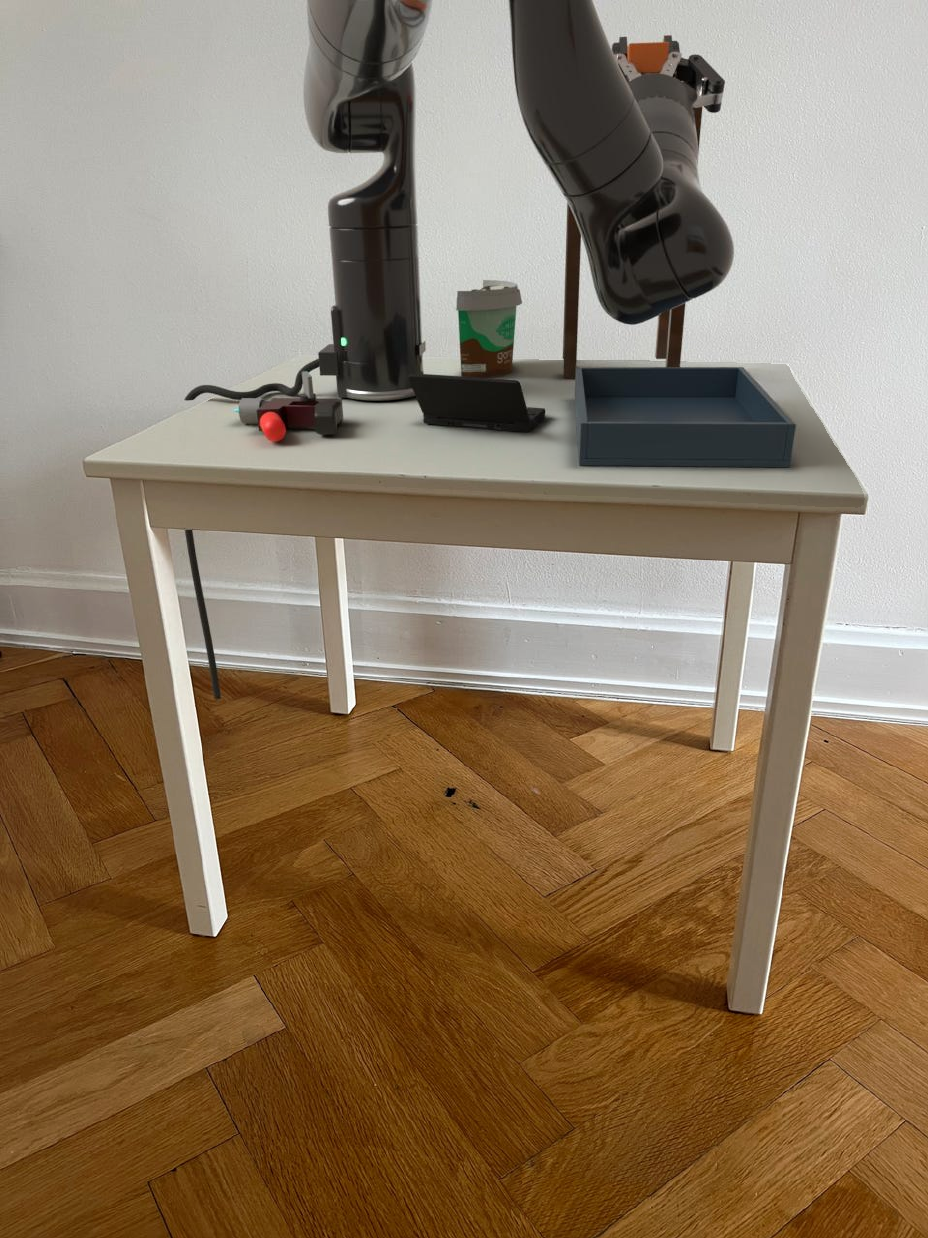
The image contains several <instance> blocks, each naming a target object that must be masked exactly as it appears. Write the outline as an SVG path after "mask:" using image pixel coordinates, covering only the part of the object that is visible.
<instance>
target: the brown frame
mask: <svg viewBox="0 0 928 1238" xmlns="http://www.w3.org/2000/svg"><path fill="white" fill-rule="evenodd" d="M682 82H683V81H682ZM683 83H685V82H683ZM694 118H695V126H696V133H697V141H698V155H699V152H700V141H701V128H702V120H703V119H702V118H703V107H698V108H696V110H695V113H694ZM698 165H699V160H698V161H697V166H698ZM565 230H566V232H565V233H566V234H565V263H564V264H565V268H564V295H563V297H564V301H563V331H562V332H563V334H562V335H563V336H562V337H563V338H562V360H563V365H562V366H563V370H562V379H565V380H566V379H567V380H568V379H571V380H572V379H574V380H575V376H576V367H577V362H578V359H577V358H578V333H579V331H578V330H579V307H580V306H579V304H580V277H581V250H582V237H581V233H580V231H579V228H578V225H577V222H576V220H575V217H574V215H573V213H572V210H571V208H570V206H569V204H568V202H567V201H566V228H565ZM686 304H687V302H686V303H684V304H682V305H680V306H677V307H675V308H673V309H671V310H669V311H667V312H665V313H662V314H660V315H658V316H657V324H656V325H657V326H656V327H657V328H656V338H655V353H654V357H655V359H656V360H665V367H681V360H682V347H683V336H684V325H685V315H686V314H685V313H686Z"/></svg>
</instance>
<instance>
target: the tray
mask: <svg viewBox="0 0 928 1238" xmlns="http://www.w3.org/2000/svg"><path fill="white" fill-rule="evenodd" d="M574 412H575V413H574V414H575V426H576V427H575V428H576V441H577V442H576V443H577V455H578V456H577V457H578V465H579V466H586V467H587V466H588V467H589V466H590V467H591V466H595V467H596V466H598V467H602V466H603V467H605V466H607V467H621V466H622V467H706V468H707V467H711V468H713V467H714V468H715V467H719V468H724V467H725V468H790V466H791V461H792V454H793V448H794V441H795V434H796V427H797V424H796V423H795V421H793V420H792V418H791V417H790V416H789V415H788V414H787V413H786V412H785V410H783V408H782V407H781V406H780V405H779V404H778V402H777V401H775V400H774V399H773V398H772V396H771V395H770V394H769V393H768V392H767V391H766V390H765V389H764V388H763V387H762V386H761V385H760V383H758V381H757V380H756V379H755V378H754V377H753V376H752V375H751V374H750V372H749V371H748V370H746V368H745V367H744V366H680V367H666V366H637V367H636V366H610V367H609V366H589V367H588V366H582V367H581V366H576V376H575V379H574Z"/></svg>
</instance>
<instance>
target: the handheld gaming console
mask: <svg viewBox="0 0 928 1238" xmlns="http://www.w3.org/2000/svg"><path fill="white" fill-rule="evenodd" d="M409 381H410V384H411V386H412V389H413V391H414V394H415V396H414V397H415V398H416V402H417V403H418V405H419V406H418V407H419V408H420V410H421V413H422V417H423V418H422V420H423V424H426V425H437V426H438V425H439V426H448V427H449V426H450V427H462V428H463V427H476V428H477V427H478V428H484V429H488V430H495V431H496V430H498V431H508V432H509V431H510V432H521V433H529V432H530V431H532V429H533V428H535V427H536V426H537V425H538V424H539V423H541V422H542V421H543V420H544V419H545V418H546V408H544V407H531V406H527V403H526V399H525V396H524V392H523V388H522V384H521V382H520V381H519V380H516V379H509V378H508V379H507V378H495V377H488V378H478V377H463V376H461V375H446V374H445V375H444V374H430V373H429V374H428V373H424V374H416V373H412V374H410V375H409Z"/></svg>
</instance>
